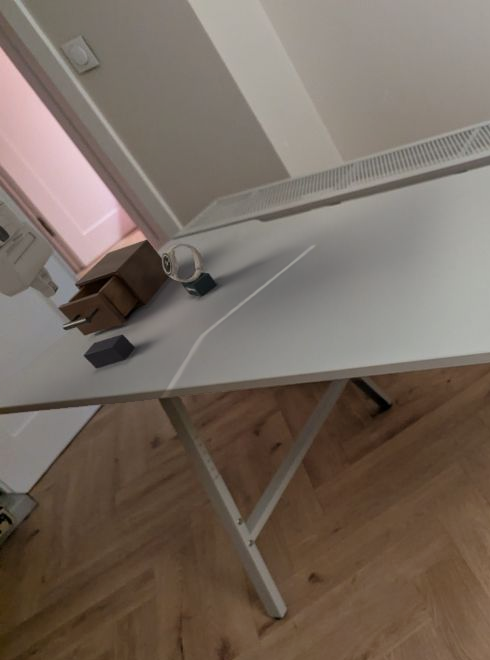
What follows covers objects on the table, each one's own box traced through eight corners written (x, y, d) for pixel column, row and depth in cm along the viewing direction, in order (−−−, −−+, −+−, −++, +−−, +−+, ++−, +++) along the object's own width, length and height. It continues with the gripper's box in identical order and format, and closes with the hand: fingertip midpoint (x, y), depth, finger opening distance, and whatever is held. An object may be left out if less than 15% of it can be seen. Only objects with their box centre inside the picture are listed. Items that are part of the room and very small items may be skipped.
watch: (182, 299, 119) (149, 257, 112) (211, 278, 123) (180, 236, 117) (194, 302, 116) (161, 259, 109) (223, 280, 120) (193, 237, 113)
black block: (95, 368, 106) (82, 355, 104) (106, 355, 109) (93, 342, 107) (125, 359, 105) (112, 346, 103) (134, 347, 108) (122, 333, 106)
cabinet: (145, 304, 124) (116, 270, 118) (104, 317, 126) (74, 284, 121) (172, 272, 135) (147, 239, 130) (134, 284, 138) (107, 252, 132)
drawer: (112, 336, 113) (84, 307, 109) (72, 349, 115) (44, 321, 111) (151, 290, 128) (128, 262, 123) (115, 301, 130) (91, 275, 125)
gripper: (-7, 220, 101) (50, 280, 110) (-49, 257, 85) (22, 324, 93) (26, 205, 102) (80, 265, 110) (-10, 240, 86) (57, 307, 94)
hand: (53, 293), depth 102 cm, fingers closed
